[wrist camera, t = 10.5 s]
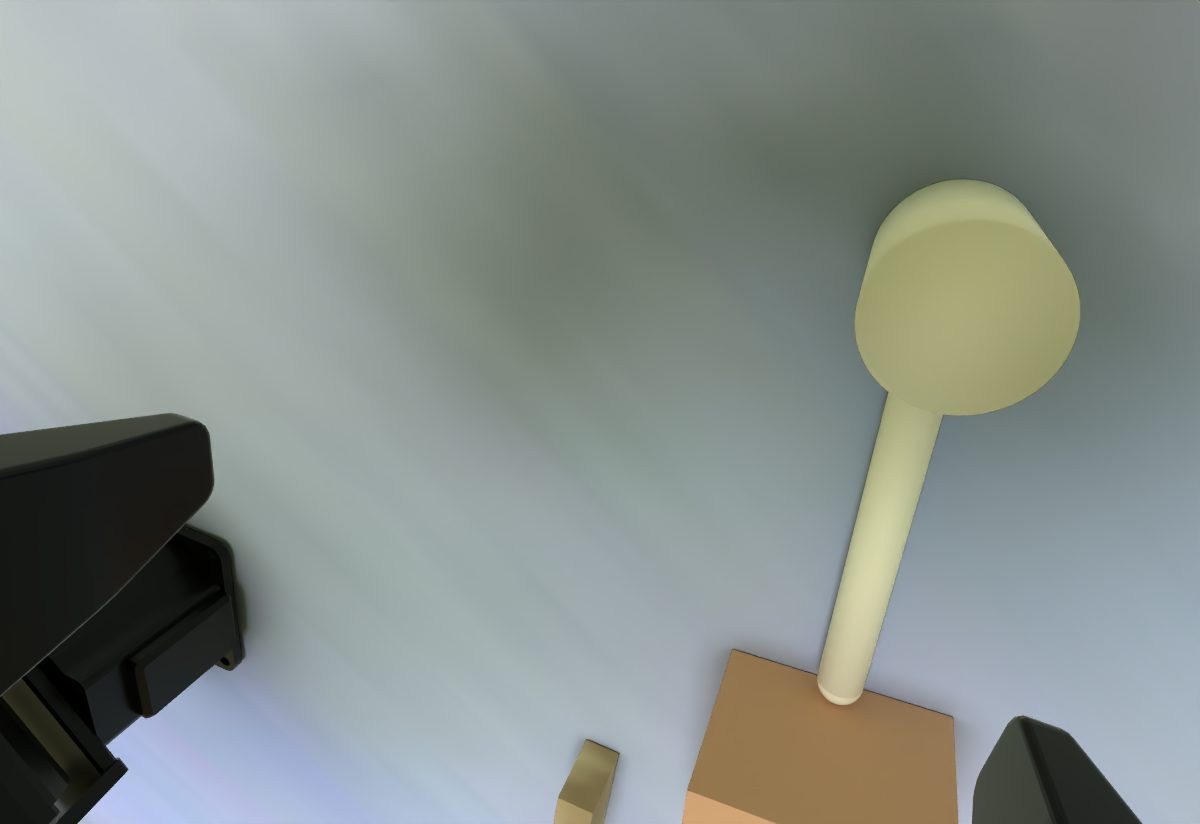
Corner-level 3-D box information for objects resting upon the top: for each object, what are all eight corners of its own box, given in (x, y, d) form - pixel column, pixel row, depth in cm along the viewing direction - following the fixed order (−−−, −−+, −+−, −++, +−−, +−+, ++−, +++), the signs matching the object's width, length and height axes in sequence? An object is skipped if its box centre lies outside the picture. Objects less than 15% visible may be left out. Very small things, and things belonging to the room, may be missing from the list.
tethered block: (707, 787, 25) (663, 939, 20) (819, 163, 16) (782, 200, 12) (900, 858, 23) (895, 1040, 18) (1146, 198, 14) (1242, 257, 10)
